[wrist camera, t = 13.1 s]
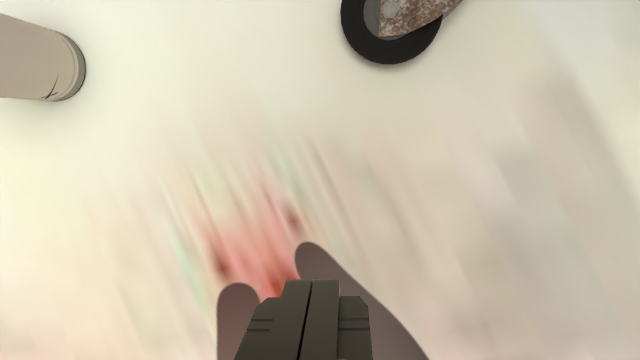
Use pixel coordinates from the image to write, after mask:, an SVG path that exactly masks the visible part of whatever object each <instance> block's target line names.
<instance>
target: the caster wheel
mask: <svg viewBox="0 0 640 360" xmlns="http://www.w3.org/2000/svg"><path fill="white" fill-rule="evenodd" d="M461 1H462V0H342V4H341V24H342V27H343V31H344V34H345V36H346V38H347V40H348V42H349V43H350V45H351V46H352V48H353V49H354V50H355V51H356V52H358V53H359V54H360V55H361V56H363V57H364V58H366V59H368V60H370V61H372V62H376V63H381V64H397V63H402V62H406V61H408V60H410V59H412V58H414V57H416V56H418V55H419V54H420V53H421V52H423V51H424V50H425V49H426V48H427V47H428V46H429V45H430V43H431V42H432V41H433V39H434V38H435V36H436V34H437V32H438V30H439V28H440V25H441V21H442V20H443V19H444V18H445V17H446V16H448V15H449V14H450V13H451V12H452V11H453V10H454V9H455V8H456V7H457V6H458V5H459V4H460V2H461Z"/></svg>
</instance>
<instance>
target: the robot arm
mask: <svg viewBox="0 0 640 360" xmlns="http://www.w3.org/2000/svg"><path fill="white" fill-rule="evenodd" d="M234 360H373V357H372V346H371V336H370V325H369V315H368V306H367V305H366V304H365V302H364V301H363V300H362V299H361V298H360V297H359V296H341V289H340V279H314V282H313V280H312V279H299V280H286V283H285V286H284V289H283V292H282V295H281V297H278V298H267V299H266V300H264V301H263V302H262V303H261V304H260V305H259V306H258V307H256V309H255V311H254V314H253V316H252V319H251V322H250V323H249V326H248V328H247V332H246V333H245V335H244V338H243V340H242V342H241V344H240V347H239V349H238V351H237V354H236V357H235V359H234Z"/></svg>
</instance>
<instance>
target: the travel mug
mask: <svg viewBox="0 0 640 360" xmlns="http://www.w3.org/2000/svg"><path fill="white" fill-rule="evenodd" d="M84 75H85V63H84V59H83V56H82V54H81V51H80V50H79V48H78V47H77V45H76V44H75V43H74V42H73V41H72V40H71V39H70V38H68V37H67V36H65V35H63V34H61V33H59V32H56V31H53V30H50V29H47V28H44V27H41V26H38V25H35V24H32V23H29V22H26V21H23V20H20V19H16V18H13V17H10V16H7V15H4V14H1V13H0V97H3V98H17V99H30V100H44V101H61V100H65V99H67V98H69V97H71V96H72V95H74V94H75V93H76V92H77V91H78V89H79V88H80V86H81V85H82V82H83V79H84Z"/></svg>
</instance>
